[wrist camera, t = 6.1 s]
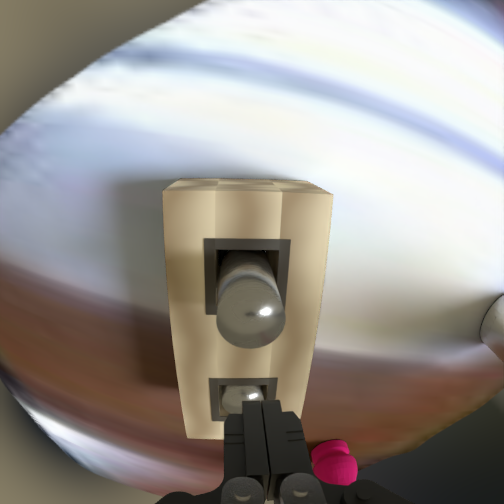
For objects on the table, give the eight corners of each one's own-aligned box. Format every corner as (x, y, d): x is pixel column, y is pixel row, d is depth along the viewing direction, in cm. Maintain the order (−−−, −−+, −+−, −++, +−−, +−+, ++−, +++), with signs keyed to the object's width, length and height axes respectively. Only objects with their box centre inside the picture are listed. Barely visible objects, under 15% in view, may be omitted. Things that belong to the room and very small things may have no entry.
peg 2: (258, 340, 34) (265, 387, 27) (257, 367, 36) (262, 415, 28) (222, 340, 34) (221, 388, 27) (223, 367, 35) (222, 415, 28)
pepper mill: (303, 462, 45) (324, 559, 26) (313, 439, 42) (341, 547, 23) (342, 458, 45) (370, 549, 26) (355, 435, 43) (391, 534, 24)
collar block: (307, 181, 29) (333, 194, 22) (286, 390, 38) (296, 437, 30) (180, 178, 29) (162, 191, 21) (192, 390, 37) (187, 438, 29)
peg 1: (271, 245, 25) (288, 290, 17) (268, 292, 26) (282, 348, 19) (220, 245, 24) (215, 289, 17) (220, 291, 26) (216, 348, 18)
